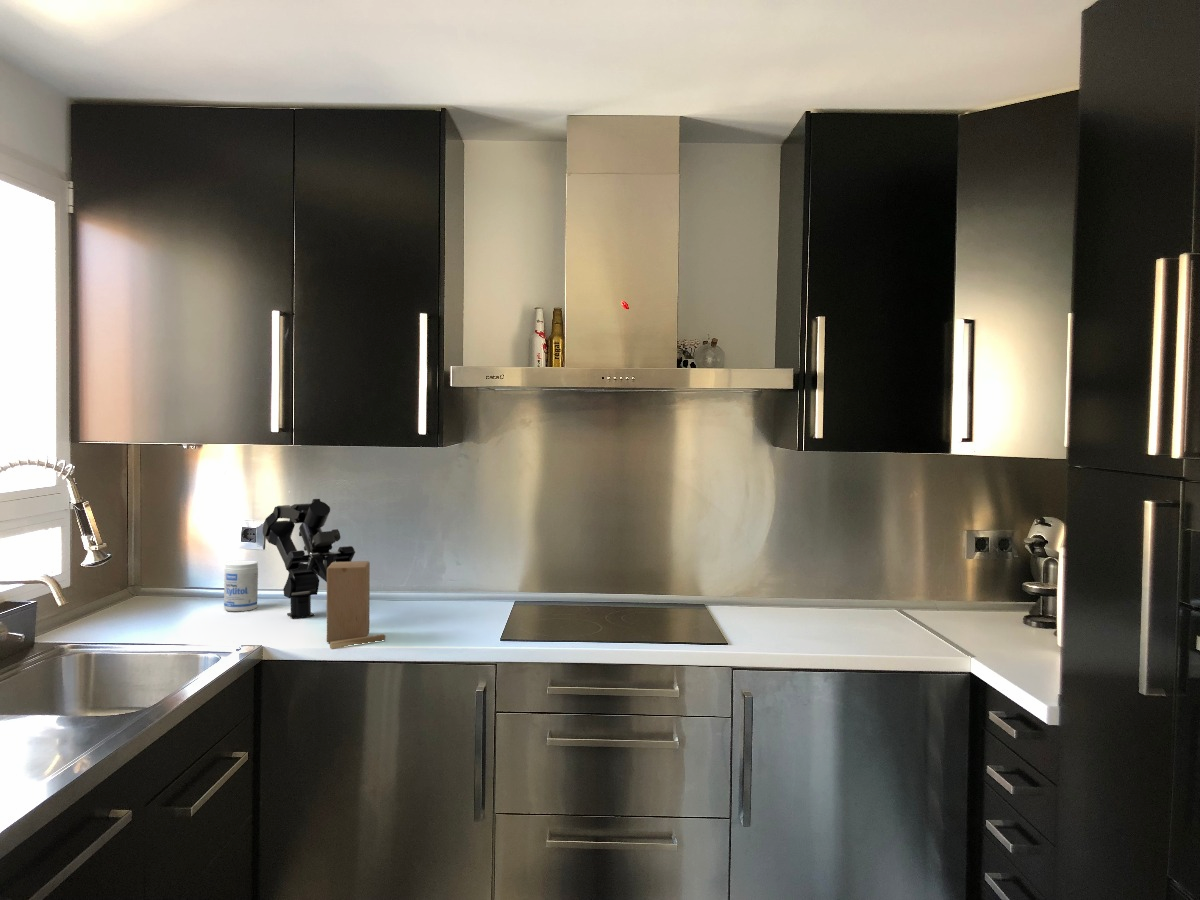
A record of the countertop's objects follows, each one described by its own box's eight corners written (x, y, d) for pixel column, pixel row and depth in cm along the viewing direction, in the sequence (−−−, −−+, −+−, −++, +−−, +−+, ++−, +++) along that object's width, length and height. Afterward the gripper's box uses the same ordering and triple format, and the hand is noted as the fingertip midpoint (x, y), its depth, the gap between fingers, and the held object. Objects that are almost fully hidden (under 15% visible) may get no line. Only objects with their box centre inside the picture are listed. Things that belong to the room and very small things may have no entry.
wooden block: (366, 642, 205) (366, 566, 205) (326, 643, 203) (326, 567, 203) (369, 632, 215) (369, 560, 215) (331, 634, 213) (331, 561, 213)
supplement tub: (222, 613, 237) (222, 565, 237) (225, 607, 246) (225, 560, 246) (257, 611, 241) (257, 563, 241) (258, 604, 250) (258, 559, 249)
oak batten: (329, 647, 199) (329, 641, 199) (383, 639, 207) (383, 634, 207) (331, 648, 198) (331, 643, 198) (385, 641, 206) (385, 635, 206)
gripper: (288, 522, 216) (303, 567, 208) (352, 518, 228) (369, 560, 220) (278, 547, 222) (292, 592, 214) (341, 542, 234) (357, 584, 226)
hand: (329, 581), depth 218 cm, fingers closed
